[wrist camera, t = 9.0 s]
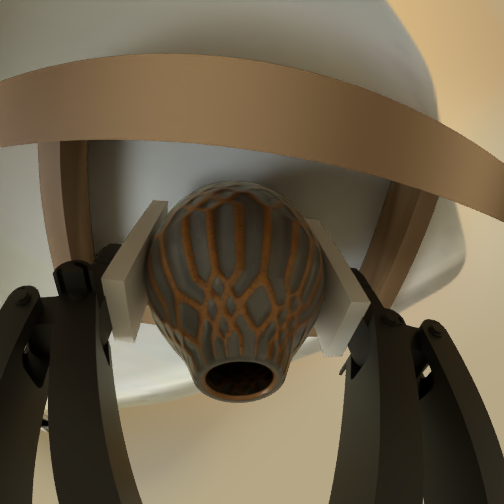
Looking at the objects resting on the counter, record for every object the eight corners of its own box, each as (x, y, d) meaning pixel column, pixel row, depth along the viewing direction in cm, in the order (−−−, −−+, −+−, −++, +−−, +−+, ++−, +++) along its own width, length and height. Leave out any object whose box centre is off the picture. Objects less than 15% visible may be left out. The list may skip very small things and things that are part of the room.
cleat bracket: (66, 278, 17) (3, 385, 8) (51, 94, 11) (-86, 125, 2) (375, 308, 20) (428, 412, 12) (436, 149, 14) (559, 213, 5)
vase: (305, 273, 16) (354, 409, 8) (189, 294, 16) (171, 434, 8) (291, 153, 12) (384, 243, 5) (149, 184, 12) (57, 304, 5)
